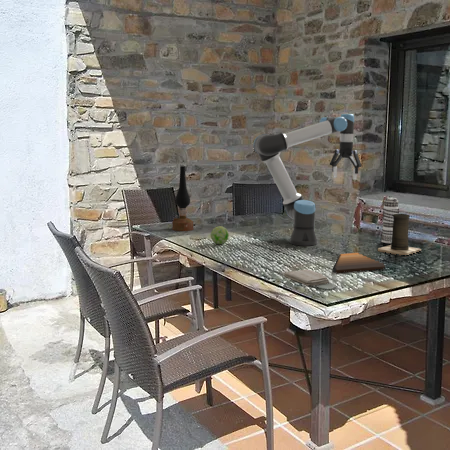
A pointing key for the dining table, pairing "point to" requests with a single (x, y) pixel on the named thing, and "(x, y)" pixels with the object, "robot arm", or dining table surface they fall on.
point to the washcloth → (307, 277)
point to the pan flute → (355, 263)
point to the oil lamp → (182, 206)
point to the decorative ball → (219, 235)
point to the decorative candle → (389, 218)
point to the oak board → (400, 252)
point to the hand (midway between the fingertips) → (344, 178)
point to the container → (400, 232)
